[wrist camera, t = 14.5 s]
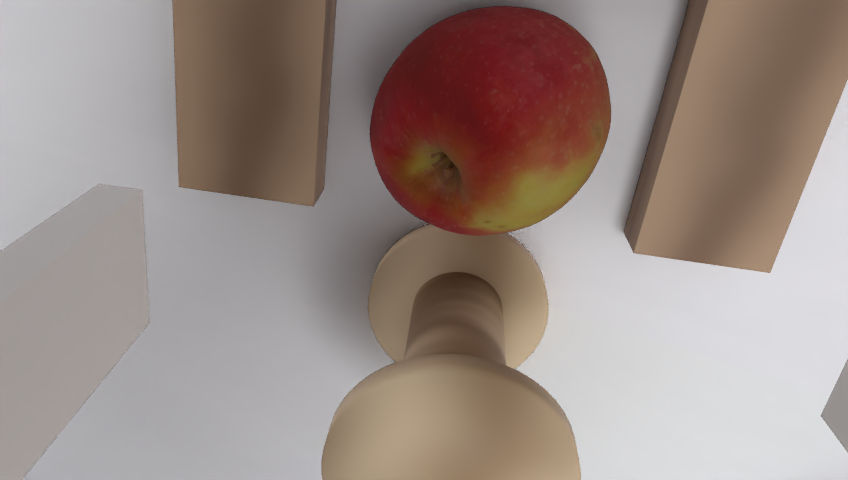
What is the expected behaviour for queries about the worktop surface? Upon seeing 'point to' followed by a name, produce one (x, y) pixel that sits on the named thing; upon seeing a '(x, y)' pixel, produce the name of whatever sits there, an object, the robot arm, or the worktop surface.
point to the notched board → (667, 151)
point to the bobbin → (453, 370)
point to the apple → (491, 120)
